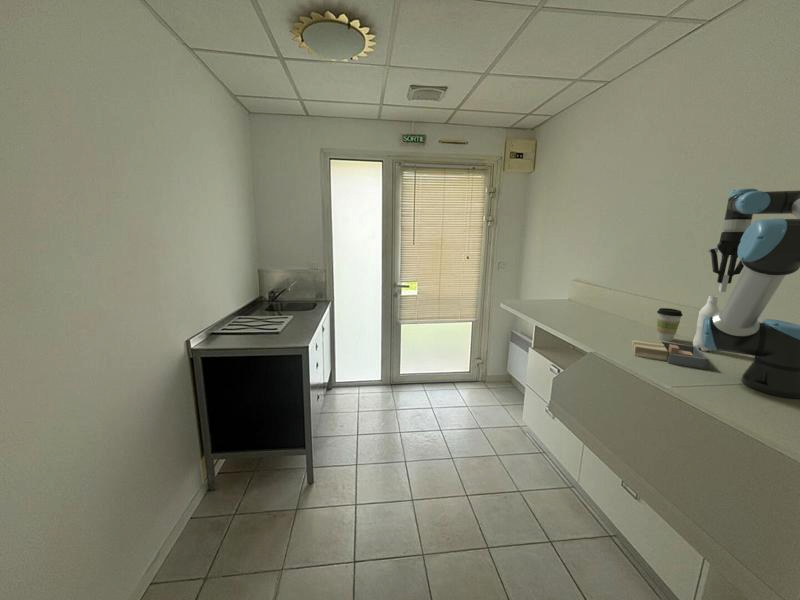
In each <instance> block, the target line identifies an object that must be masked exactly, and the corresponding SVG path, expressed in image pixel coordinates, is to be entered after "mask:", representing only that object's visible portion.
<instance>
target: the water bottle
mask: <svg viewBox="0 0 800 600" xmlns="http://www.w3.org/2000/svg"><path fill="white" fill-rule="evenodd" d="M718 298H719V296H718V295H709V296H708V298H707V299H706V301H707V302H706V304H705V305H703V306H702V308H701V309H700V310H699V312H698V317H697V321H696V332H695V335H694V338H693V340H692V346H696V347H697V348H698V349H699V350H700V349H701V350H700V351H701V352H711V351H713V349H708V348H706V347H704V345H703V341H702V328H703V320H704V318H705V317H713V316H714V314H715V313H717V312H718V311H720V309H719V307H718V303H719V300H718Z"/></svg>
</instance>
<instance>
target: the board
mask: <svg viewBox="0 0 800 600" xmlns="http://www.w3.org/2000/svg"><path fill="white" fill-rule="evenodd" d="M630 348H631V350H632V353H633V355H634V356H636V357H640V358H648V359H653V360H659V361H665V362H667V356H668V351H667V349H666V348H665V346H664V344H663V343H661V342H656V341H649V340H641V339H635V338H632V341H631V347H630Z"/></svg>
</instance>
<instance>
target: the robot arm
mask: <svg viewBox="0 0 800 600" xmlns="http://www.w3.org/2000/svg"><path fill="white" fill-rule="evenodd" d="M774 214H775V215H776V214H777V215H781V214H782V215H783V214H785V215H787V214H790V215H791V214H792V215H794V216H795V217H796V218H783V217H776V218H768V219H767V218H763V219H760V220H755V221H754V222H753V223H752V221H753V220H752V219H753V215H774ZM721 230H722V231H721V233H720V237H719V243H717V245H716V246H715V247H713V248H709V249H708V252H709V254H710V256H711V267H712V272H713V273H715V274H718V276H717V282H716V283H718V284H719V286H718V291H719V292H720V293H726V292H727V287H728V284H732V281H733V277H734V276H736V275H739V274H740V276H739V277H738V279H737V282H736V283H735V285H734V287H733V289H732V291H731V294H730V295H729V297H728V299H727V301H726V304H725V305H724V307H723V309H721V310H719V311H718V312H717V313H715V314H714V316H713V317H705V318H704V320H703V328H702V341H703V345H704V347H706V348H708V349H712V351H713V350H714V351H716V352H724V353H725V352H726V353H732V354H738V355H746V356H752V357H753V356H754V357H753V361H752V363H751V364H749V366H748V367H747V368H746V370H745V371H744V372H743V374H742V375H741V379H740V380H741V381H740V382H741V383H742V384H743V385H744V386H746V387H749V388H751V389H753V390H755V391H760V392H762V393H765V394H769V395H771V396H772V395H773V396H776V397H781V398H788V399H798V400H800V324H797V323H793V322H788V321H784V320H780V319H779V320H778V319H773V318H765V319H763V320H762V322H759V320H758V319H759V318H760V317H761V315H762V313H763V311H764V310H765V309H766V307H767V305H768V304H769V302H770V301H771V299H772V297H773V296H774V295H775V293H776V291H777V290H778V288H779V286H780V285H781V284H782V282H783V280H784V279H785V277H786V276H788V275H792V274H794V273H796V272H797V271H799V269H800V190H778V191H776V190H774V191H771V190H770V191H762V190H758V189H757V188H738V189H733V190H731V191H730V193H729V197H728V198H727V204H726V211H725V214H724V221H723V224H722V229H721ZM718 252H720V254H721V259H720V264H719V261H718V259H719V258H718ZM729 257H730V259H729ZM738 259H739V262H738V263H737V261H738ZM728 260H729V264H728ZM727 264H728V268H727ZM736 265H737V266H736ZM726 270H727V272H726ZM725 273H726V274H725Z"/></svg>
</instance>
